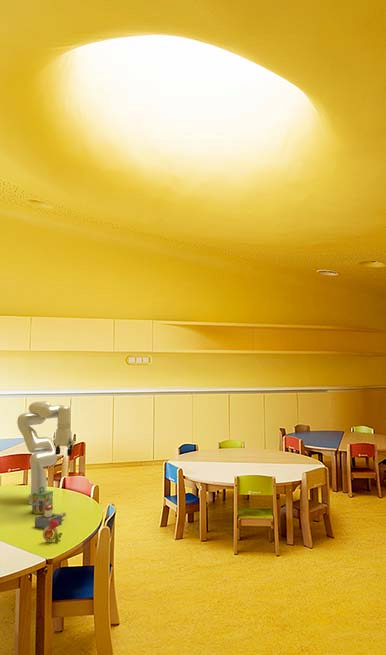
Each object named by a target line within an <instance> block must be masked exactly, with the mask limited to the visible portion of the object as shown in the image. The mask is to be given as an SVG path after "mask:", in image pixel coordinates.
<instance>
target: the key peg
mask: <svg viewBox="0 0 386 655" xmlns="http://www.w3.org/2000/svg"><path fill="white" fill-rule="evenodd" d="M52 508H53V509H54V504H53V505H45V506H44V509H45V518H51V517H52V513H53V510H52Z"/></svg>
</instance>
